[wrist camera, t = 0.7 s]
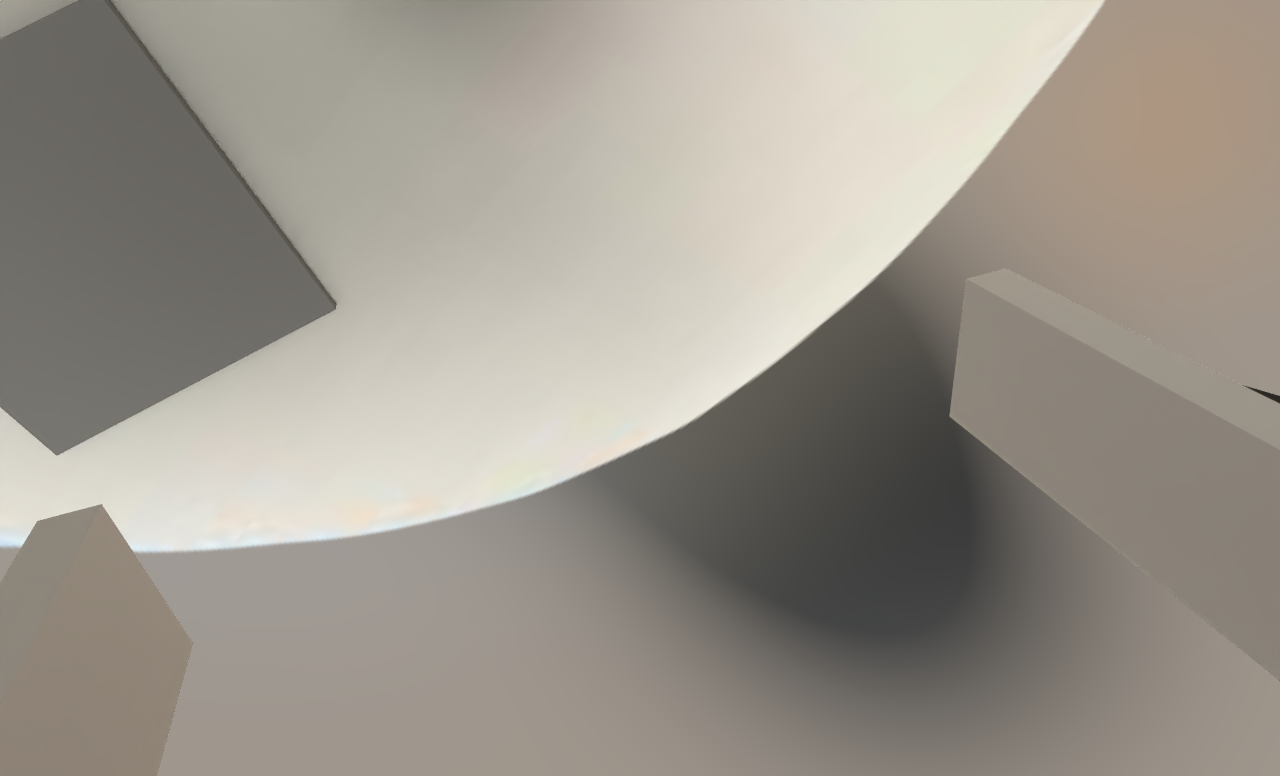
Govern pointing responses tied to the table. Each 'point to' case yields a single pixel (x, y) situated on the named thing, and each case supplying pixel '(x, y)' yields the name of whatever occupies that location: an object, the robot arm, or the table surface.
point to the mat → (123, 235)
